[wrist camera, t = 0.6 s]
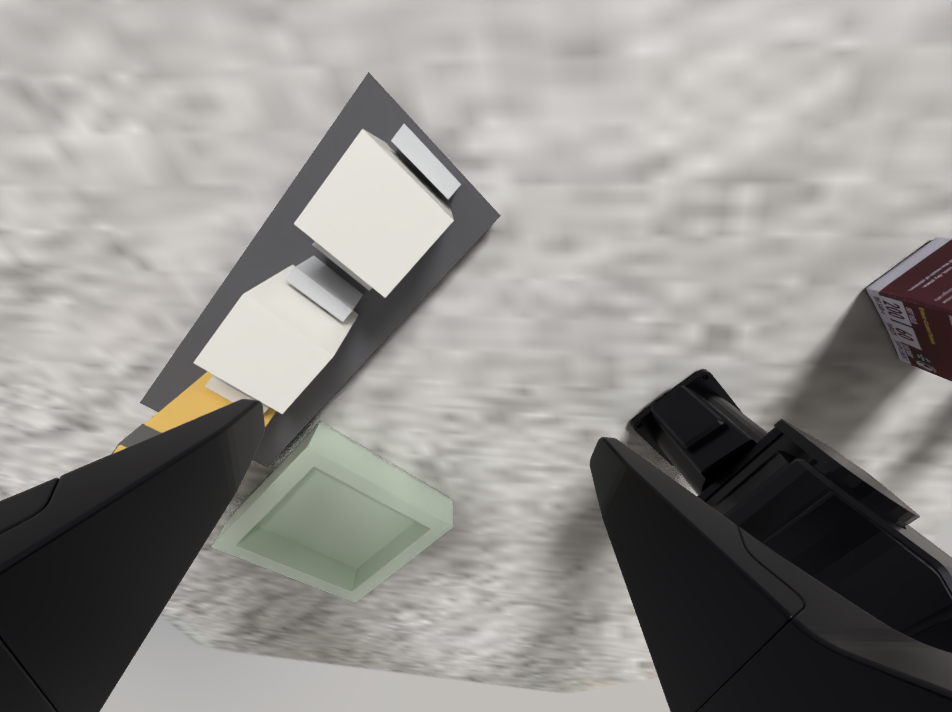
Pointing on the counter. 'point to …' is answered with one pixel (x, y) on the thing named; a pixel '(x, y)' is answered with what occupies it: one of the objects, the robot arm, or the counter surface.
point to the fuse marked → (182, 412)
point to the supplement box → (920, 307)
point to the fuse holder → (334, 265)
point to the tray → (336, 517)
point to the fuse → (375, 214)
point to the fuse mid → (274, 342)
